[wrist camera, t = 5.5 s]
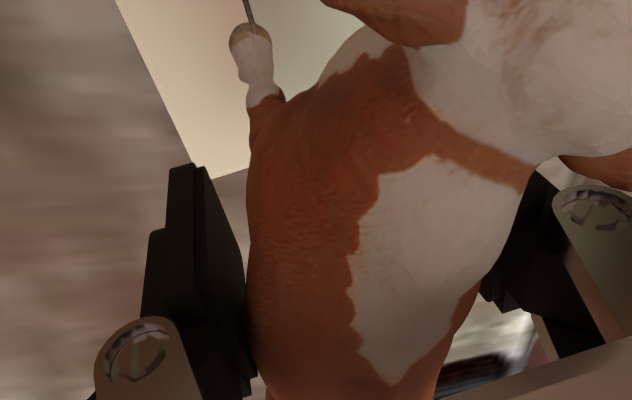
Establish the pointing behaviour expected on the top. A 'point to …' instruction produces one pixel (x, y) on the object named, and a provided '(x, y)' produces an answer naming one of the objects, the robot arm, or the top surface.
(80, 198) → the top surface
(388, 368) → the bull figurine
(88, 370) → the top surface
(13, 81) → the top surface
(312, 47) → the game board
